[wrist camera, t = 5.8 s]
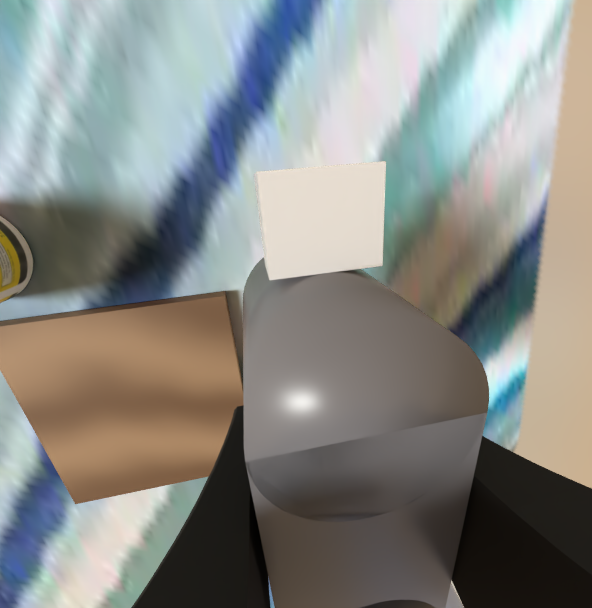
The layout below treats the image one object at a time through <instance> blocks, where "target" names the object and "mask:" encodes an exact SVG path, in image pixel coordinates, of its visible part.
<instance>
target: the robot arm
mask: <svg viewBox="0 0 592 608" xmlns="http://www.w3.org/2000/svg"><path fill="white" fill-rule="evenodd" d="M452 581H453V584H454V586H455V588H456V590H457V593H458V595H459V597H460V599H461V601H462V603H461V601H460V599H459V597H458V595H457V594H456V592H455V590H454V588H453V586H452V584H450V589H449V594H448V598H447V603H446V608H592V489H591V488H589V487H586V486H584V485H582V484H579V483H577V482H575V481H573V480H570V479H568V478H566V477H563V476H561V475H559V474H556V473H555V472H552V471H550V470H548V469H546V468H544V467H542V466H539V465H537V464H535V463H533V462H531V461H529V460H527V459H525V458H523V457H521V456H519V455H517V454H515V453H513V452H511V451H509V450H507V449H505V448H503V447H502V446H500V445H498V444H496V443H494V442H492V441H491V440H489V439H487V438H485V437H484V436H482V439H481V444H480V449H479V453H478V458H477V463H476V467H475V472H474V477H473V481H472V486H471V491H470V496H469V500H468V505H467V510H466V514H465V519H464V524H463V528H462V533H461V538H460V542H459V547H458V552H457V556H456V561H455V566H454V570H453V575H452ZM462 604H463V605H462ZM463 606H464V607H463ZM132 608H270V597H269V582H268V571H267V566H266V561H265V557H264V552H263V547H262V542H261V537H260V532H259V527H258V522H257V517H256V512H255V507H254V502H253V498H252V493H251V488H250V483H249V478H248V473H247V468H246V463H245V455H244V405H243V406H237V408H236V409H235V410H234V413H233V417H232V420H231V424H230V427H229V430H228V432H227V435H226V438H225V440H224V443H223V446H222V448H221V450H220V453H219V455H218V457H217V460H216V462H215V465H214V467H213V469H212V471H211V473H210V475H209V477H208V479H207V481H206V484H205V486H204V488H203V490H202V492H201V494H200V496H199V498H198V500H197V502H196V504H195V506H194V507H193V509H192V511H191V513H190V515H189V517H188V518H187V520H186V522H185V524H184V526H183V527H182V529H181V531H180V533H179V534H178V536H177V538H176V539H175V541H174V543H173V544H172V546H171V548H170V549H169V551H168V552H167V554H166V556H165V557H164V559H163V561H162V562H161V564H160V565H159V567H158V569H157V570H156V572H155V573H154V575H153V577H152V578H151V580H150V581H149V583H148V584H147V586H146V587H145V589H144V590H143V592H142V593H141V595H140V596H139V598H138V599H137V601H136V602H135V603H134V605H133V606H132Z"/></svg>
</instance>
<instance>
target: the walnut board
mask: <svg viewBox="0 0 592 608" xmlns="http://www.w3.org/2000/svg"><path fill="white" fill-rule="evenodd" d="M0 370H1V372H2V374H3V376H4V377H5V379H6V381H7V383H8V385H9V386H10V388H11V390H12V392H13V394H14V395H15V397H16V399H17V401H18V402H19V404H20V406H21V408H22V410H23V411H24V413H25V415H26V417H27V418H28V420H29V422H30V424H31V426H32V427H33V429H34V431H35V433H36V435H37V436H38V438H39V440H40V442H41V443H42V445H43V447H44V449H45V451H46V452H47V454H48V456H49V458H50V460H51V461H52V463H53V465H54V467H55V468H56V470H57V472H58V474H59V476H60V477H61V479H62V481H63V483H64V485H65V486H66V488H67V490H68V492H69V493H70V495H71V497H72V499H73V501H74V502H75V504H78V503H83V502H88V501H93V500H98V499H102V498H107V497H112V496H117V495H121V494H126V493H131V492H136V491H141V490H145V489H150V488H155V487H160V486H165V485H169V484H174V483H179V482H184V481H188V480H193V479H198V478H203V477H208V476H209V475H210V473H211V471H212V469H213V467H214V465H215V462H216V460H217V457H218V455H219V453H220V450H221V448H222V446H223V443H224V440H225V438H226V435H227V432H228V430H229V427H230V424H231V420H232V417H233V413H234V410H235V409H236V408H237V406H243V405H244V402H243V382H242V377H241V372H240V366H239V361H238V356H237V350H236V345H235V340H234V334H233V329H232V324H231V318H230V313H229V308H228V302H227V297H226V292H225V291H222V292H215V293H207V294H200V295H192V296H185V297H178V298H170V299H163V300H155V301H148V302H140V303H133V304H125V305H118V306H111V307H103V308H96V309H88V310H81V311H73V312H66V313H58V314H51V315H43V316H36V317H29V318H21V319H14V320H6V321H0Z"/></svg>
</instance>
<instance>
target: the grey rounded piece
mask: <svg viewBox="0 0 592 608" xmlns="http://www.w3.org/2000/svg"><path fill="white" fill-rule="evenodd" d="M385 173H386V161H383V162H371V163H359V164H346V165H334V166H322V167H309V168H297V169H285V170H273V171H260V172H256V173H255V174H254V179H255V187H256V195H257V203H258V211H259V219H260V227H261V235H262V243H263V251H264V258H262V259H261V260H260V261H259V262H258V263H257V265H256V266H255V267H254V269H253V270H252V271H251V273H250V275H249V277H248V279H247V282H246V285H245V288H244V293H243V402H244V455H245V463H246V468H247V473H248V478H249V483H250V488H251V493H252V498H253V502H254V507H255V512H256V517H257V522H258V527H259V532H260V537H261V542H262V547H263V552H264V557H265V561H266V566H267V571H268V576H269V581H270V586H271V591H272V596H273V601H274V606H275V608H446V603H447V598H448V594H449V589H450V584H451V580H452V575H453V570H454V566H455V561H456V556H457V552H458V547H459V542H460V538H461V533H462V528H463V524H464V519H465V514H466V510H467V505H468V500H469V496H470V491H471V486H472V481H473V477H474V472H475V467H476V463H477V458H478V453H479V449H480V444H481V439H482V435H483V430H484V425H485V421H486V416H487V411H488V403H489V387H488V381H487V376H486V373H485V371H484V368H483V365H482V363H481V362H480V360H479V358H478V357H477V355H476V354H475V352H474V351H473V350H472V349H471V348H470V347H469V346H468V345H467V344H466V343H465V342H464V341H462V340H461V339H460V338H459V337H457V336H456V335H454V334H453V333H452V332H450V331H449V330H447V329H446V328H444V327H443V326H442V325H440V324H439V323H437V322H436V321H434V320H433V319H432V318H430V317H429V316H427V315H426V314H424V313H423V312H422V311H420V310H419V309H417V308H416V307H414V306H413V305H412V304H410V303H409V302H407V301H406V300H404V299H403V298H401V297H400V296H399V295H397V294H396V293H394V292H393V291H391V290H390V289H389V288H387V287H386V286H384V285H383V284H381V283H380V282H379V281H377V280H376V279H374V278H373V277H371V276H370V275H369V274H367V273H366V272H364V271H363V270H361V269H362V268H370V267H378V266H382V265H383V235H384V204H385Z"/></svg>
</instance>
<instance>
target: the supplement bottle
mask: <svg viewBox="0 0 592 608" xmlns="http://www.w3.org/2000/svg"><path fill="white" fill-rule="evenodd" d="M32 271H33V257H32V253H31V250H30V248H29V246H28V244H27V242H26V240H25V239H24V237H23V236H22V235H21V233H20V232H19V231H18V230H17V229H16V228H15V227H14V226H13V225H12V224H11V223H9V222H8V221H7V220H6V219H4V218H3V217H1V216H0V303H1V302H3V301H6V300H8V299H10V298H12V297H14V296H15V295H17V294H18V293H20V292H21V291H22V290H23V289H24V288H25V287H26V285H27V284H28V282H29V280H30V278H31V275H32Z"/></svg>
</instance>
